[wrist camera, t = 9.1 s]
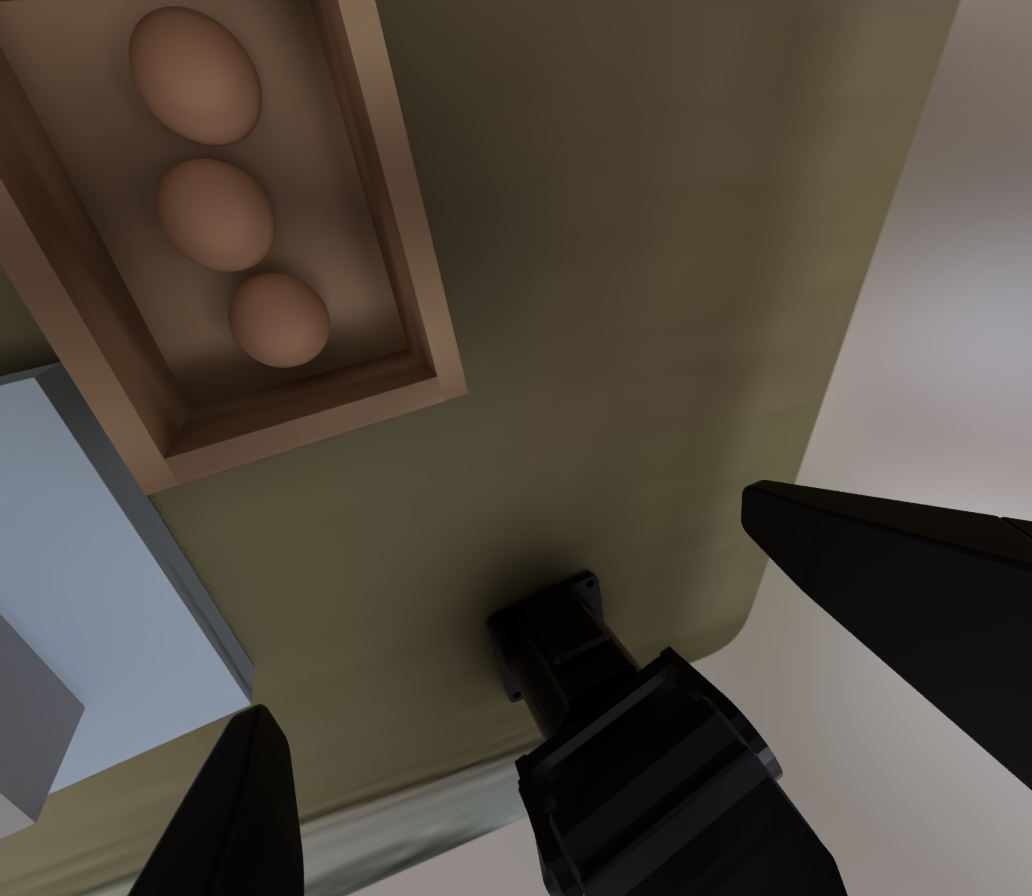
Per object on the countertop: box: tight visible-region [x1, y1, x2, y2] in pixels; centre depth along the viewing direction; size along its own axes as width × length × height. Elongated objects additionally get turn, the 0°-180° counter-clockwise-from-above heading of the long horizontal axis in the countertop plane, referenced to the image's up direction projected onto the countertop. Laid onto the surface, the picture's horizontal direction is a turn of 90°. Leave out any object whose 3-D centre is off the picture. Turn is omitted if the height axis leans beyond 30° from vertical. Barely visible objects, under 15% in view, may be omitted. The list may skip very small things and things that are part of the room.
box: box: [0, 0, 468, 496], centre depth 13 cm, size 12×9×5 cm
